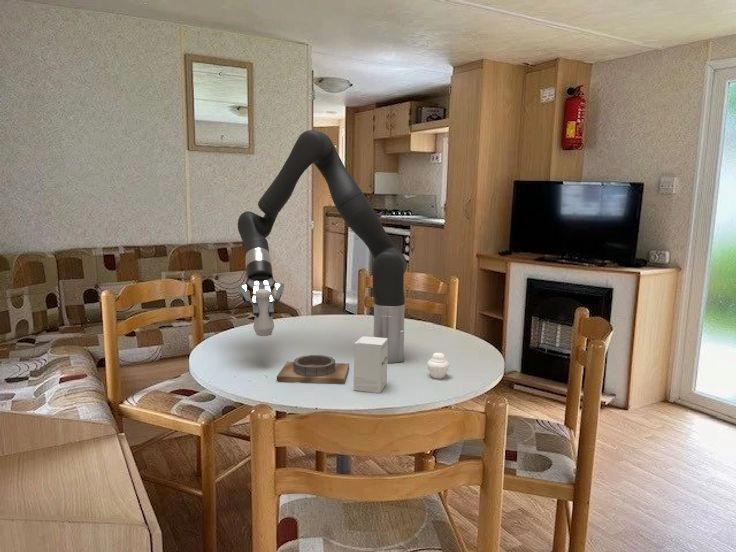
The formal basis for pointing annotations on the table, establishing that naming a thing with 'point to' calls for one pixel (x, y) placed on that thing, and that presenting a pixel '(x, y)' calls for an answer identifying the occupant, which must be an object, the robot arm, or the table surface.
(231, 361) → the table surface
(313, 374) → the socket base
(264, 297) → the salt shaker
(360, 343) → the supplement box
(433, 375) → the muffin
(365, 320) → the table surface
